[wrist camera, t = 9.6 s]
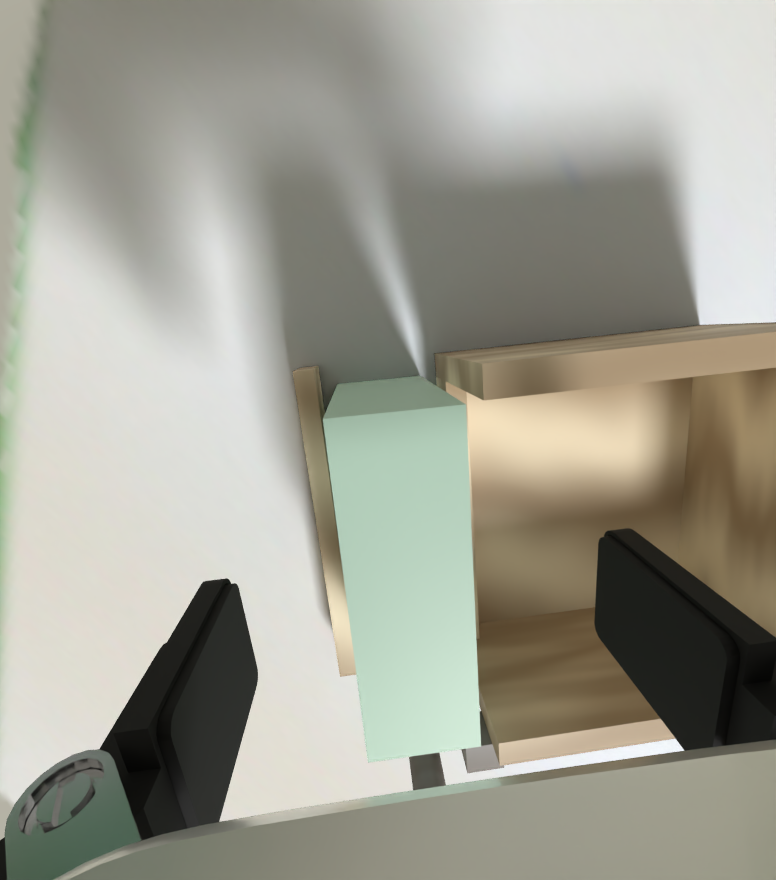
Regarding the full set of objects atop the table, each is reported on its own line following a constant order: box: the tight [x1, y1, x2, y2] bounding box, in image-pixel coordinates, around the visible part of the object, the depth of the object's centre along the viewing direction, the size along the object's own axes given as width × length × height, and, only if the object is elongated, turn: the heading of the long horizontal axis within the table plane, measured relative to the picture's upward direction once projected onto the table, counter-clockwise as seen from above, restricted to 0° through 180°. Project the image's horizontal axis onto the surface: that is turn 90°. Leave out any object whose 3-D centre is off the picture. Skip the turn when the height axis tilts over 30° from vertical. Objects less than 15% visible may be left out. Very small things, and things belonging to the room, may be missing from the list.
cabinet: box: [293, 322, 776, 790], centre depth 16 cm, size 16×18×8 cm
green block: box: [323, 376, 481, 762], centre depth 16 cm, size 12×4×8 cm, turn 5°
